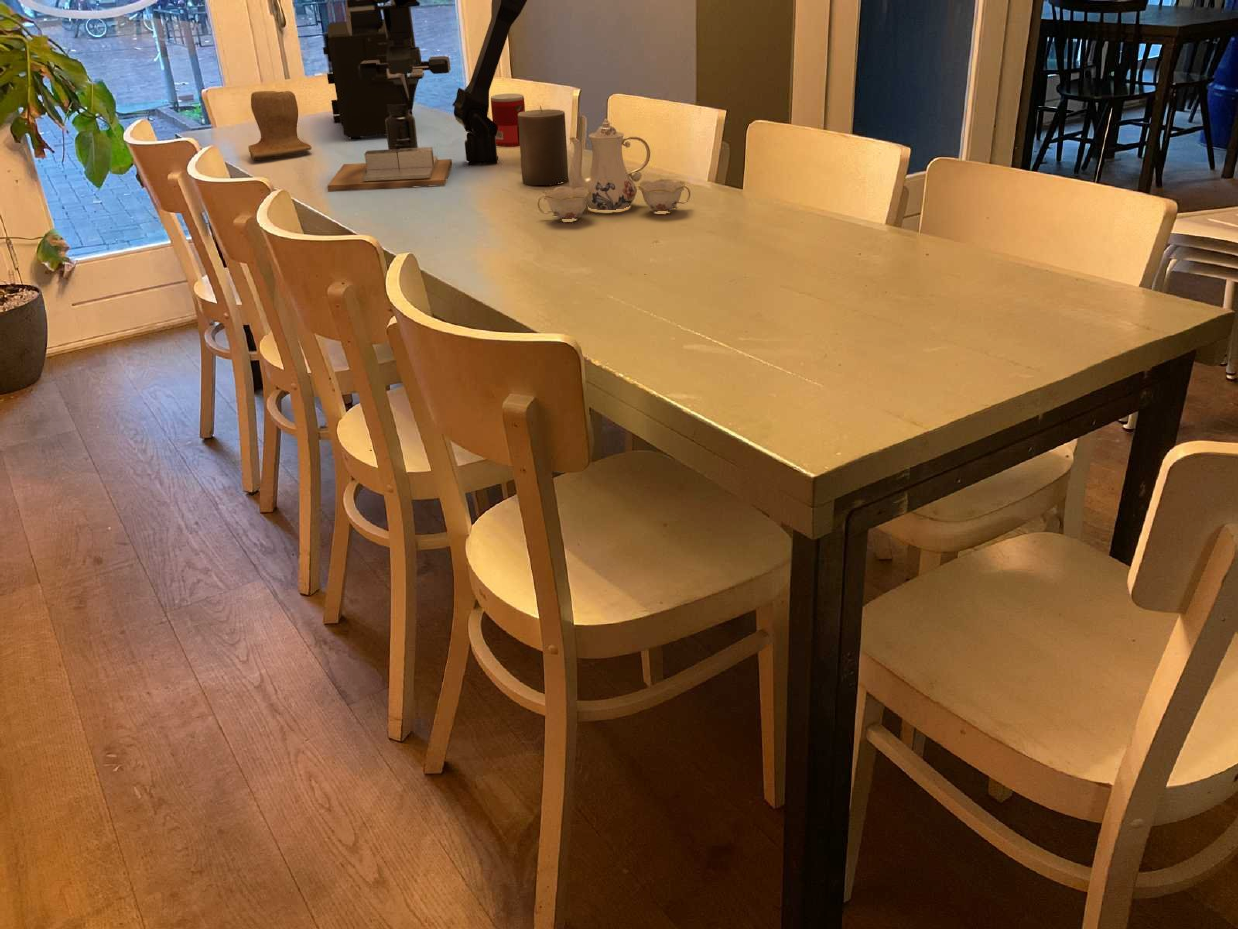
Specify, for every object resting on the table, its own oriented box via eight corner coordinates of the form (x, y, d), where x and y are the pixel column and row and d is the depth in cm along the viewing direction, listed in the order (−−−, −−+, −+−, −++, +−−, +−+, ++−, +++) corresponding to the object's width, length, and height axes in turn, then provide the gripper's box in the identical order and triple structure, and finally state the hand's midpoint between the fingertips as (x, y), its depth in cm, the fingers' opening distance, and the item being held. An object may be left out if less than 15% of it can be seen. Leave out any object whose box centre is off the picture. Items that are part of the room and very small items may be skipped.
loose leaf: (434, 166, 221) (432, 147, 219) (429, 177, 212) (427, 158, 210) (369, 169, 220) (367, 150, 219) (362, 181, 211) (359, 161, 209)
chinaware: (548, 240, 180) (544, 146, 171) (528, 207, 194) (523, 119, 184) (697, 223, 187) (701, 131, 177) (668, 193, 200) (670, 106, 191)
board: (452, 164, 229) (451, 158, 228) (444, 185, 212) (443, 179, 211) (344, 169, 228) (343, 164, 227) (328, 191, 211) (327, 185, 210)
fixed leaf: (437, 160, 227) (435, 140, 225) (433, 171, 218) (430, 150, 216) (374, 163, 227) (371, 143, 225) (367, 174, 217) (364, 153, 215)
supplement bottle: (403, 161, 234) (396, 106, 228) (383, 157, 238) (375, 104, 232) (425, 155, 239) (418, 101, 233) (405, 152, 242) (398, 99, 237)
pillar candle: (562, 186, 207) (558, 109, 200) (516, 185, 209) (510, 109, 202) (573, 176, 216) (570, 102, 209) (529, 175, 217) (524, 101, 210)
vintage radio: (334, 117, 287) (318, 21, 275) (404, 112, 291) (391, 17, 279) (337, 143, 255) (319, 35, 243) (415, 136, 259) (402, 30, 247)
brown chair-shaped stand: (300, 147, 252) (289, 83, 245) (317, 154, 243) (306, 88, 236) (239, 156, 245) (225, 90, 237) (254, 164, 236) (241, 96, 229)
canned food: (525, 146, 244) (522, 98, 239) (492, 147, 244) (488, 99, 239) (528, 139, 251) (525, 92, 246) (496, 140, 251) (492, 93, 246)
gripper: (348, 38, 204) (361, 119, 212) (441, 33, 205) (451, 113, 212) (356, 32, 214) (369, 109, 221) (445, 27, 214) (455, 104, 222)
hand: (410, 109), depth 219 cm, fingers closed
